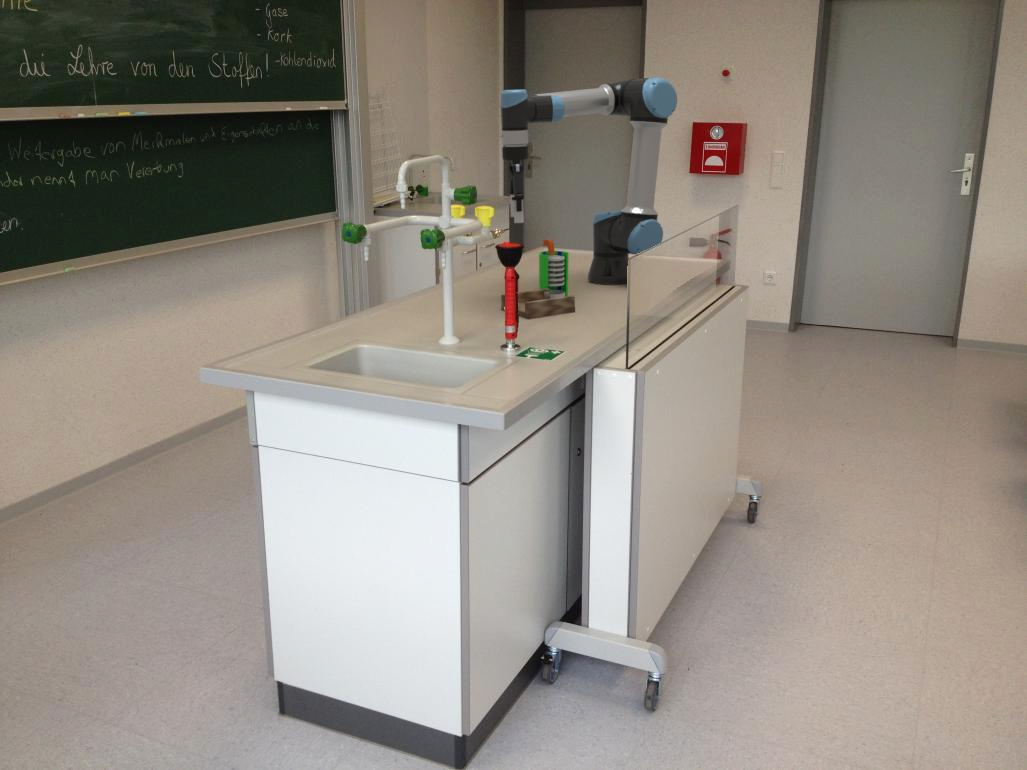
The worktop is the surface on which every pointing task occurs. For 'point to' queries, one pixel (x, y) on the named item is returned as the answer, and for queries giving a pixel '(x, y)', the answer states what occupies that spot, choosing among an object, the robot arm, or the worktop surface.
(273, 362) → the worktop surface
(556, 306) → the housing
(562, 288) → the green-shelled ribbed roller
